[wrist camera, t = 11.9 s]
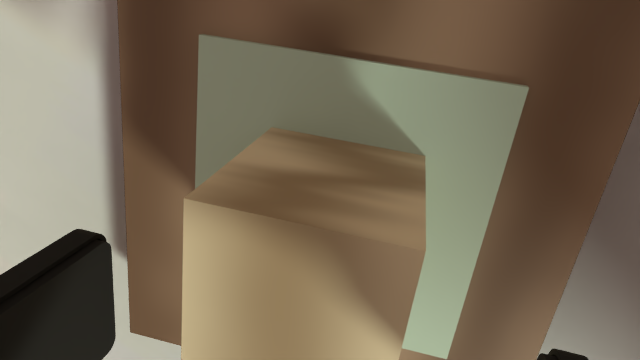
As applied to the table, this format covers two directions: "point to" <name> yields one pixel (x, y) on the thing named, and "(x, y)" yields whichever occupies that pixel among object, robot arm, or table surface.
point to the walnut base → (391, 137)
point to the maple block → (303, 252)
